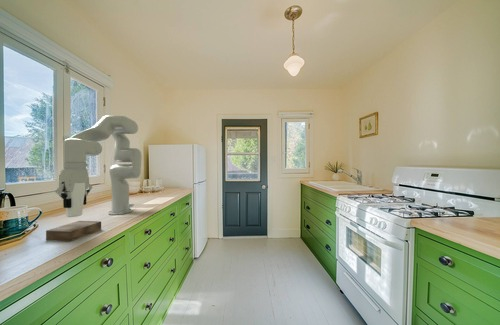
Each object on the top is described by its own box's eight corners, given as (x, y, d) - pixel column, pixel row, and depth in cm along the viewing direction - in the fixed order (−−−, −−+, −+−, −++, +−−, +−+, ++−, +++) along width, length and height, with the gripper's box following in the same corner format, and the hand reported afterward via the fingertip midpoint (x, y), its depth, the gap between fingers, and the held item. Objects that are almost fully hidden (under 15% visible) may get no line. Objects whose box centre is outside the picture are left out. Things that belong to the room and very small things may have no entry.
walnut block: (79, 228, 95) (79, 220, 95) (101, 229, 93) (101, 221, 93) (46, 240, 81) (46, 230, 81) (70, 241, 80) (70, 231, 80)
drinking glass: (72, 218, 83) (73, 183, 83) (59, 217, 84) (61, 183, 85) (88, 214, 89) (89, 182, 90) (76, 214, 91) (77, 182, 91)
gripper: (86, 166, 96) (86, 202, 96) (45, 166, 79) (45, 210, 79) (99, 166, 95) (99, 202, 95) (61, 166, 78) (61, 210, 78)
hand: (75, 205), depth 87 cm, fingers closed on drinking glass, 6 cm apart
